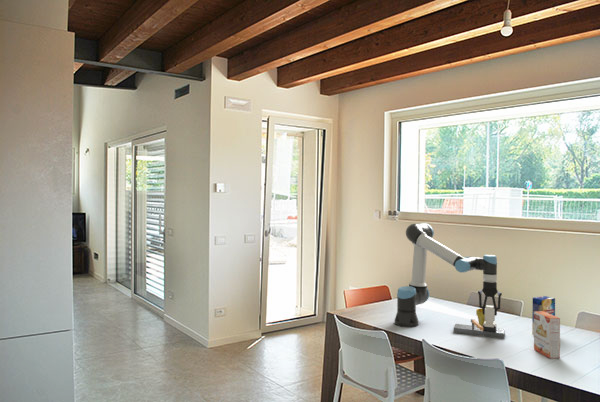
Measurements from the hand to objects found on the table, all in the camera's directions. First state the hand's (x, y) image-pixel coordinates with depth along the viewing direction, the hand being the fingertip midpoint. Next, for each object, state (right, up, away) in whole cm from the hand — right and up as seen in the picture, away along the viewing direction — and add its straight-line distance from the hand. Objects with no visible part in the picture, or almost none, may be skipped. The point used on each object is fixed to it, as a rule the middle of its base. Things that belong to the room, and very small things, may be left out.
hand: (489, 320), depth 278 cm
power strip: (-5, -9, +3) cm, 11 cm away
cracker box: (+16, -9, -34) cm, 39 cm away
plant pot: (+5, -9, +20) cm, 22 cm away
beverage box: (+32, -9, 0) cm, 33 cm away
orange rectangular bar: (-10, -5, -7) cm, 14 cm away
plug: (-1, -6, -1) cm, 6 cm away
